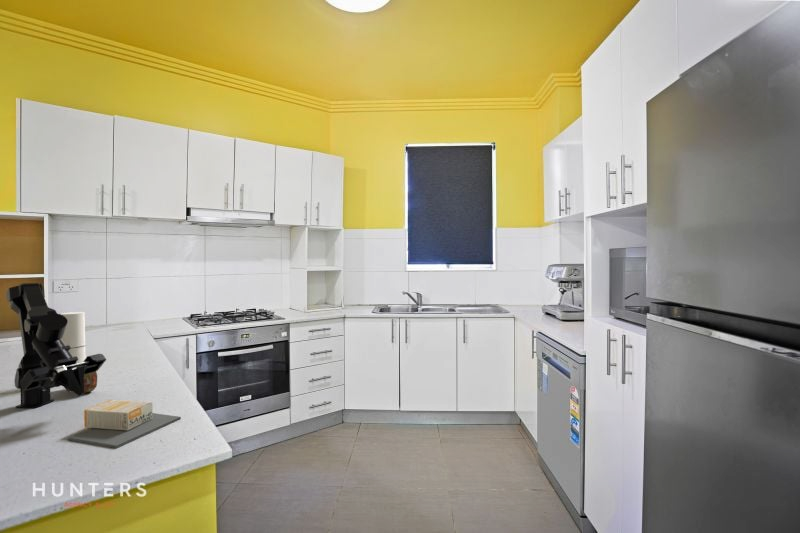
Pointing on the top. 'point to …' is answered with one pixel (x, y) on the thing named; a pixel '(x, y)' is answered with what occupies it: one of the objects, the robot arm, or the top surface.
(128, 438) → the mat
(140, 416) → the supplement box
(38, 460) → the top surface
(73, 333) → the cylindrical container
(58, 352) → the robot arm
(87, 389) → the tin
